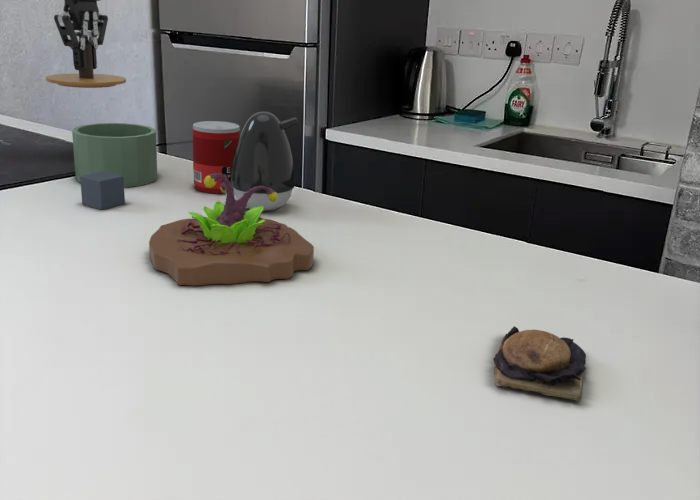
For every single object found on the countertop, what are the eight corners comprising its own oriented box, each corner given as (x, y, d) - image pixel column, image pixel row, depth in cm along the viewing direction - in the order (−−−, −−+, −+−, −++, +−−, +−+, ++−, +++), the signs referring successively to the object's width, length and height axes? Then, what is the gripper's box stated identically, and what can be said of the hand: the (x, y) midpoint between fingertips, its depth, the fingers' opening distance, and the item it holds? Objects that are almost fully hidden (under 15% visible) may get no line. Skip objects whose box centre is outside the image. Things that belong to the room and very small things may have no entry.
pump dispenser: (300, 215, 107) (304, 118, 102) (233, 216, 104) (233, 116, 99) (289, 197, 116) (292, 107, 111) (227, 198, 113) (227, 105, 108)
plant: (135, 239, 92) (131, 157, 88) (271, 226, 101) (273, 151, 97) (170, 296, 75) (168, 199, 72) (329, 275, 84) (334, 187, 80)
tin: (89, 190, 112) (85, 139, 109) (67, 172, 122) (63, 124, 119) (168, 183, 120) (167, 134, 117) (141, 166, 130) (139, 121, 127)
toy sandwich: (584, 407, 60) (592, 370, 58) (487, 386, 62) (493, 350, 60) (583, 352, 69) (590, 320, 68) (499, 336, 71) (504, 304, 70)
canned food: (231, 196, 115) (231, 130, 111) (186, 191, 116) (184, 126, 112) (245, 185, 122) (246, 123, 118) (203, 180, 123) (202, 119, 119)
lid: (57, 89, 122) (53, 48, 119) (38, 80, 133) (34, 41, 130) (136, 88, 130) (135, 49, 127) (112, 79, 141) (110, 42, 138)
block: (101, 210, 103) (99, 181, 101) (81, 204, 105) (79, 175, 104) (125, 204, 107) (123, 176, 105) (105, 198, 109) (103, 170, 107)
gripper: (83, -27, 132) (90, 65, 137) (35, -32, 119) (44, 70, 125) (118, -25, 130) (123, 68, 136) (73, -29, 117) (80, 74, 123)
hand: (85, 69), depth 130 cm, fingers closed on lid, 2 cm apart
